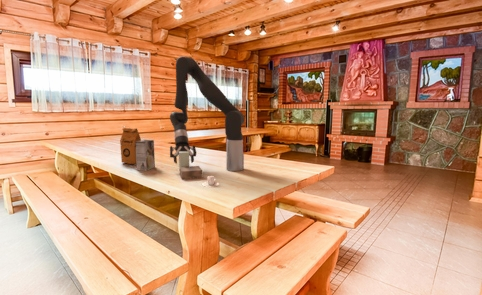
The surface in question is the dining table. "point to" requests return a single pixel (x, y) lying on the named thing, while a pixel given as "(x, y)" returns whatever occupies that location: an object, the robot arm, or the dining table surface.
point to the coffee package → (129, 145)
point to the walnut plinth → (190, 172)
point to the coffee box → (145, 154)
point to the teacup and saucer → (211, 181)
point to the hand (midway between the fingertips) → (184, 162)
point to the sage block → (183, 159)
